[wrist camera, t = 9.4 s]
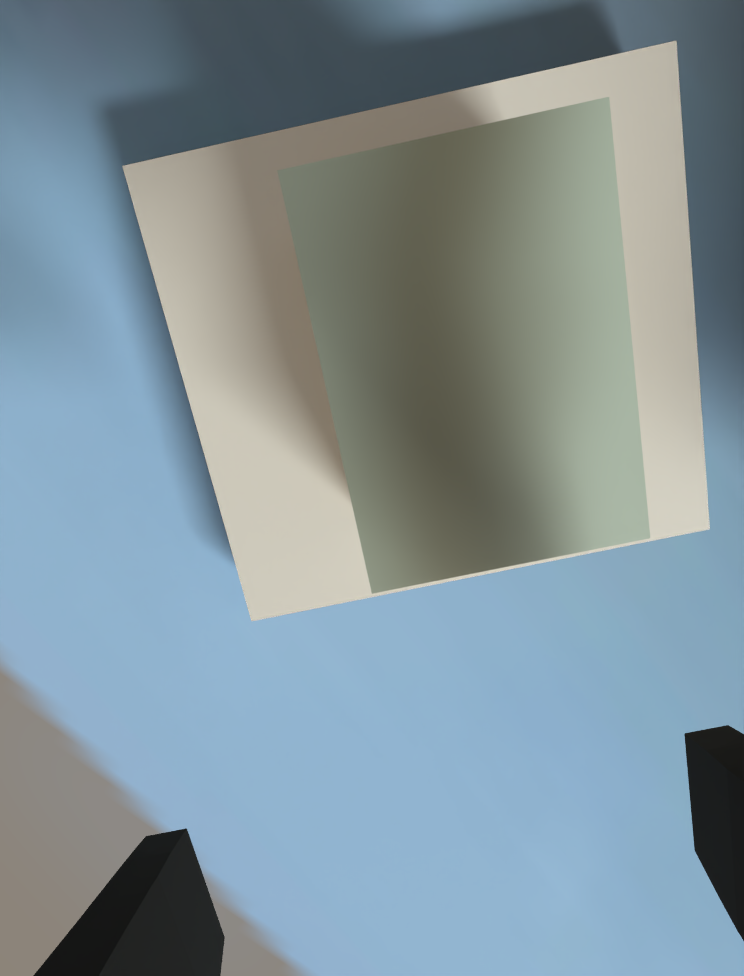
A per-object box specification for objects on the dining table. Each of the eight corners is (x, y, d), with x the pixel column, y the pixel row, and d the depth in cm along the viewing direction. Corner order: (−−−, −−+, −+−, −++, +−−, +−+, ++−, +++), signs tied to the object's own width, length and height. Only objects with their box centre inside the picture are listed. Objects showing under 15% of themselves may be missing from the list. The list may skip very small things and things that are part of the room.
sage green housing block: (526, 173, 13) (609, 96, 9) (565, 477, 15) (650, 538, 11) (303, 222, 13) (276, 170, 9) (368, 517, 15) (372, 593, 11)
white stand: (634, 78, 15) (676, 40, 13) (670, 507, 17) (709, 528, 15) (152, 187, 15) (122, 166, 13) (263, 589, 18) (251, 621, 16)
